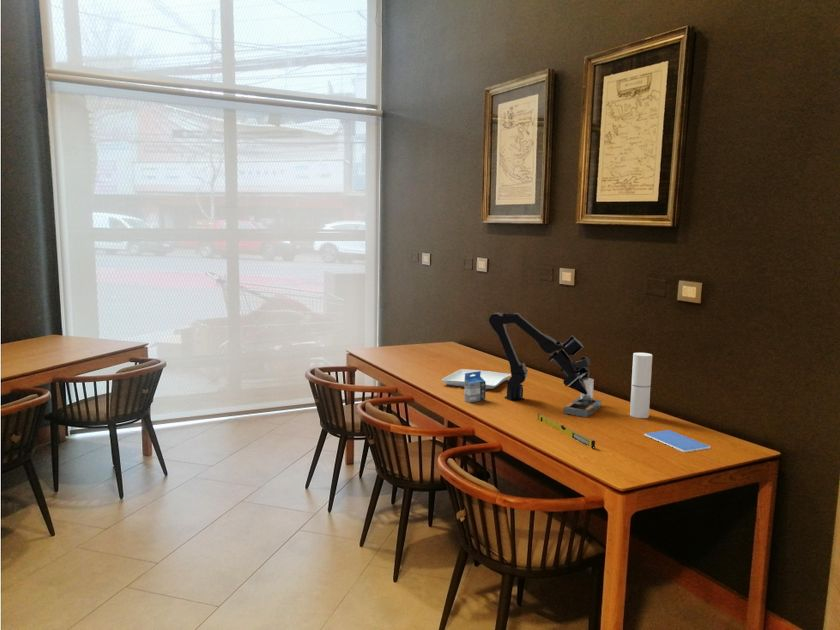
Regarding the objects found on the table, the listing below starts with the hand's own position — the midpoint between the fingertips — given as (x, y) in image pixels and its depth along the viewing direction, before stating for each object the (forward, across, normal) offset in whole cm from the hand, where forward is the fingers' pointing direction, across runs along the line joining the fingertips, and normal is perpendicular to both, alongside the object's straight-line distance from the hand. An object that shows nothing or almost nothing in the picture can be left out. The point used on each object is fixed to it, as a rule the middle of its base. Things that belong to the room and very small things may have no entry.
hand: (590, 391), depth 259 cm
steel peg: (+4, 0, +6) cm, 7 cm away
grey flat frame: (+4, -5, +6) cm, 8 cm away
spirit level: (+7, -39, +4) cm, 40 cm away
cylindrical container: (+19, 0, -9) cm, 21 cm away
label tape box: (-27, -17, +37) cm, 49 cm away
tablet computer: (+32, -26, -22) cm, 47 cm away
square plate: (-36, +13, +46) cm, 60 cm away
